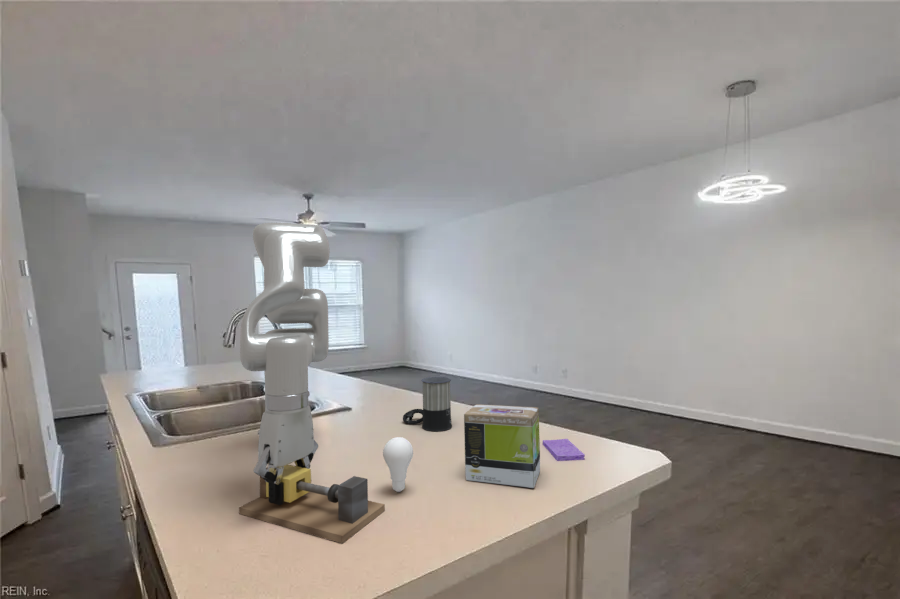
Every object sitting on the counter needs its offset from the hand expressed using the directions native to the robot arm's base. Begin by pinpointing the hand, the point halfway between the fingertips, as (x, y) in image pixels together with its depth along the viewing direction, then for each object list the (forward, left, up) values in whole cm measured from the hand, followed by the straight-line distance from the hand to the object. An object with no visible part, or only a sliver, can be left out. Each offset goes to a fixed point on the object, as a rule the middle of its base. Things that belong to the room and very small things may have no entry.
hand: (288, 495), depth 84 cm
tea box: (+33, +30, -2) cm, 44 cm away
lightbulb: (+16, +14, -2) cm, 21 cm away
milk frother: (-2, +58, -2) cm, 58 cm away
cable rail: (+6, 0, -2) cm, 6 cm away
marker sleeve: (0, 0, 0) cm, 0 cm away
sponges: (+41, +51, -3) cm, 66 cm away
